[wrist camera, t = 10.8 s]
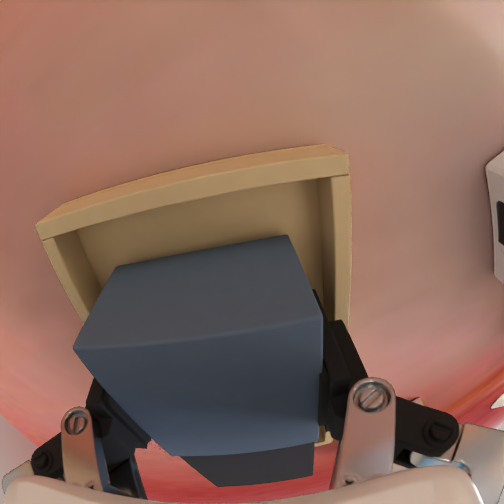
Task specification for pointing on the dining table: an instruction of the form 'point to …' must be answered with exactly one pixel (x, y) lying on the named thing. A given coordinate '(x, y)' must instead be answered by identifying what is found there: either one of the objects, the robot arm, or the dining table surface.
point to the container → (497, 210)
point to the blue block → (211, 348)
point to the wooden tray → (212, 222)
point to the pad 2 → (256, 466)
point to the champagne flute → (499, 402)
